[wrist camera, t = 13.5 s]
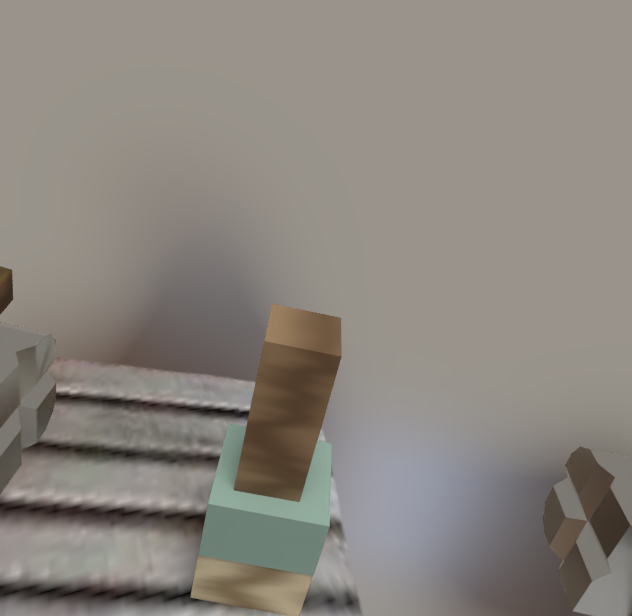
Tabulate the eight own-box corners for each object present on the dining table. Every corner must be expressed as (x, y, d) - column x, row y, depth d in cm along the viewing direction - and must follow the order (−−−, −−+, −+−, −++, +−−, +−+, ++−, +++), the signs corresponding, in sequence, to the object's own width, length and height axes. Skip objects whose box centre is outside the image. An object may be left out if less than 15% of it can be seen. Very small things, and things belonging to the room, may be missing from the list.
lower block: (190, 599, 43) (198, 553, 40) (212, 513, 50) (220, 469, 48) (298, 618, 43) (312, 574, 41) (305, 530, 50) (317, 489, 48)
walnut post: (233, 490, 39) (264, 341, 34) (242, 444, 43) (272, 303, 38) (299, 502, 40) (341, 356, 34) (302, 455, 44) (340, 317, 38)
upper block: (198, 555, 40) (207, 503, 38) (219, 471, 47) (228, 423, 45) (313, 575, 41) (329, 526, 39) (317, 489, 48) (331, 443, 46)
